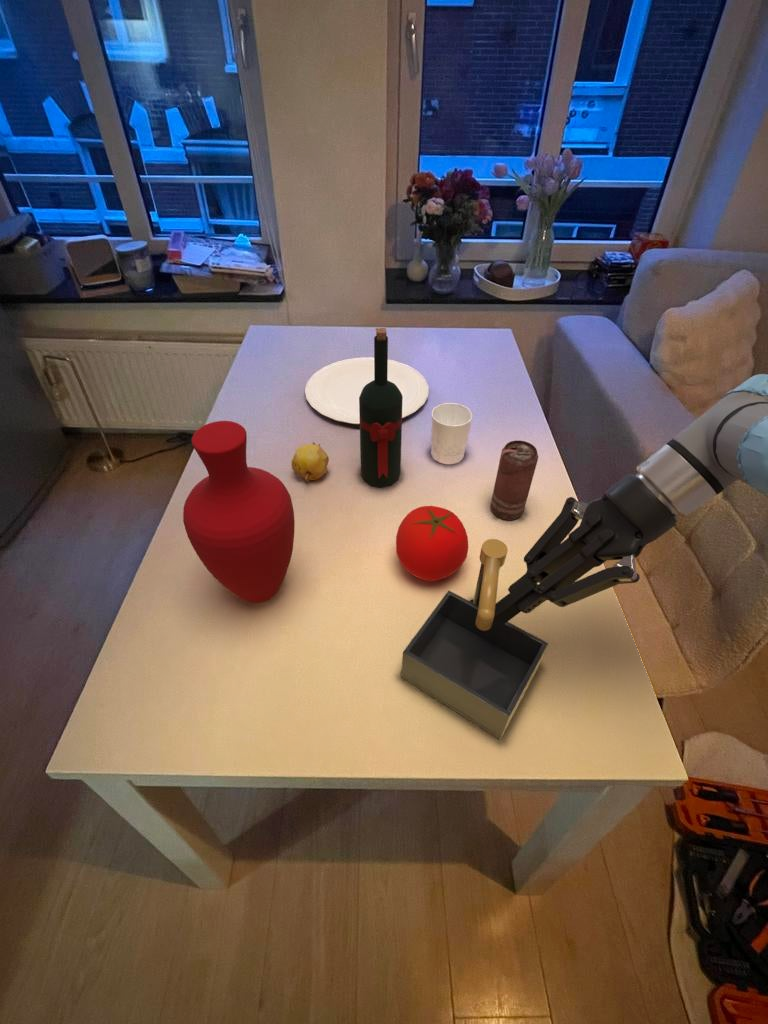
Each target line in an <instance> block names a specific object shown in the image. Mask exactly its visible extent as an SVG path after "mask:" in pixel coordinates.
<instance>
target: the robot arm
mask: <svg viewBox="0 0 768 1024" xmlns="http://www.w3.org/2000/svg"><path fill="white" fill-rule="evenodd" d="M635 470H636V471H637V473H636V474H633V473H630V474H629V473H627V474H626V475H624V476H623V477H622V478H620V479H619V480H618V481H617V482H615V483H614V484H612V485H611V486H610V487H609V488H608V489H606V491H605V493H604V495H603V496H601V497H599V498H595V499H592V500H591V501H590V502H583V501H579V500H577V499H576V498H575V497H573V496H570V497H568V498H566V499H565V501H564V504H563V507H562V509H561V511H560V513H559V514H558V516H557V517H556V518H555V519H554V520H553V521H552V522H551V524H550V525H549V526H548V528H547V529H546V530H545V531H544V532H543V533H542V534H541V536H540V537H539V538H538V540H537V541H535V543H534V544H533V545H532V547H531V548H530V549H529V550H528V551H527V553H525V555H524V556H523V562H524V563H525V565H526V572H525V574H523V575H522V576H521V577H519V578H518V579H517V580H516V581H514V582H512V584H510V586H509V587H508V588H507V590H508V594H507V595H505V596H503V598H501V599H500V600H499V601H496V605H495V614H494V619H495V620H497V621H499V622H501V623H504V624H505V623H506V622H510V621H511V620H512V619H513V618H514V617H516V616H517V615H519V614H520V613H524V614H529V613H531V612H533V611H534V610H536V608H538V607H539V606H541V605H542V604H543V603H545V602H546V601H549V602H550V603H552V604H554V605H556V606H558V607H559V608H565V607H568V606H570V605H572V604H574V603H577V602H579V601H582V600H585V599H586V598H589V597H592V596H594V595H596V594H598V593H601V592H604V591H605V590H608V589H610V588H613V587H616V586H618V585H624V584H636V583H638V582H639V581H640V578H641V577H640V574H639V573H638V572H637V571H636V570H637V569H636V567H637V566H636V558H638V557H639V556H640V555H641V553H642V552H643V549H644V548H645V547H646V546H647V545H648V544H651V543H653V542H654V541H656V540H657V539H659V538H660V537H661V536H663V535H665V534H666V533H667V532H669V531H670V530H671V529H672V528H674V527H675V526H677V524H676V523H677V522H678V519H676V518H678V517H679V516H681V517H682V518H687V517H689V516H691V514H692V513H694V512H696V511H697V510H698V509H699V508H701V507H702V506H704V505H705V504H706V503H708V502H709V501H711V500H712V499H713V498H714V497H716V496H718V495H719V494H721V493H723V491H724V490H726V489H727V488H728V487H730V486H731V485H733V484H735V483H736V482H737V481H739V480H740V481H741V482H743V483H745V484H746V485H748V486H749V487H751V488H753V489H754V491H756V492H757V493H761V494H762V495H763V496H764V497H766V498H768V374H766V373H759V374H758V373H757V374H755V375H753V376H751V377H749V378H748V379H746V380H745V381H743V382H742V383H741V384H739V385H738V386H736V387H735V388H733V389H730V390H729V391H727V392H726V393H724V394H723V396H721V398H720V399H719V400H718V401H717V402H716V403H715V404H713V405H712V406H710V407H709V408H708V409H707V410H706V411H704V412H703V413H702V414H701V415H700V416H698V417H697V418H696V419H695V420H693V421H692V422H691V423H690V424H688V425H687V426H685V428H684V429H682V430H681V431H680V432H678V433H677V434H676V435H675V436H674V437H672V438H671V439H670V440H669V441H668V442H666V443H664V444H663V445H662V446H661V447H659V448H658V449H657V450H655V451H653V453H652V454H650V455H649V456H648V457H646V458H645V459H644V460H643V461H641V462H640V463H639V464H638V465H636V467H635ZM579 521H580V524H579V526H577V524H578V522H579ZM575 527H576V528H575ZM574 528H575V529H574ZM567 536H568V537H567ZM617 560H618V561H617ZM607 561H617V562H614V563H613V566H612V567H607V568H606V567H605V568H604V569H601V570H599V571H597V572H594V573H592V574H590V575H588V576H585V577H583V576H584V575H586V574H587V573H589V572H590V571H591V570H592V569H594V568H598V567H600V566H602V565H603V564H604V563H605V562H607ZM582 577H583V578H582ZM580 578H581V579H580Z"/></svg>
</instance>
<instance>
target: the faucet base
mask: <svg viewBox="0 0 768 1024" xmlns="http://www.w3.org/2000/svg"><path fill="white" fill-rule="evenodd" d="M479 567H480V568H479V571H478V577H477V581H476V587H475V590H474V596H473V598H472V599H470V600H469V601H470V602H472V603H474V604H476V605H477V606H479V600H480V593H481V585H482V578H483V571H484V565H483V564H482V563H481V562H480V566H479ZM500 570H501V568H500V569H499V571H500Z"/></svg>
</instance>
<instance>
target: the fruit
mask: <svg viewBox="0 0 768 1024" xmlns="http://www.w3.org/2000/svg"><path fill="white" fill-rule="evenodd" d="M329 461H330V458H329V455H328V453H327V452H326V450H325V449H323V447H321V443H319V444H317V443H316V442H315V441H312V443H308V444H303V445H301V446H299V447H298V448H297V449H296V450H295V452H294V455H293V458H292V460H291V469H292V470H293V472H294V474H296V475H298V476H299V477H301V478H304V480H305V482H306V483H308V484H309V483H310V480H312V481H316V480H318V479H320V478H321V477H323V476H324V475H325V474H326V472H327V469H328V464H329Z"/></svg>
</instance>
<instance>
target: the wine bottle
mask: <svg viewBox="0 0 768 1024" xmlns="http://www.w3.org/2000/svg"><path fill="white" fill-rule="evenodd" d="M375 334H376V335H374V337H373V358H374V380H373V381H371V382H370V383H368V384H366V385H365V387H364V388H363V390H362V392H361V394H360V397H359V415H360V424H359V447H360V448H359V449H360V450H359V454H360V457H359V458H360V477H361V479H362V481H363V482H364V483H365V484H366V485H369V486H370V487H373V488H380V489H384V488H387V487H391V486H393V485H395V484H396V483H397V482H398V481H399V480H400V477H401V471H402V470H401V468H402V465H401V464H402V431H403V430H402V429H403V419H402V399H403V396H402V394H401V392H400V390H399V389H398V387H397V386H396V385H395V384H394V383H392V382H390V381H388V380H387V374H388V359H389V337H388V336H387V327H376V328H375Z"/></svg>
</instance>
